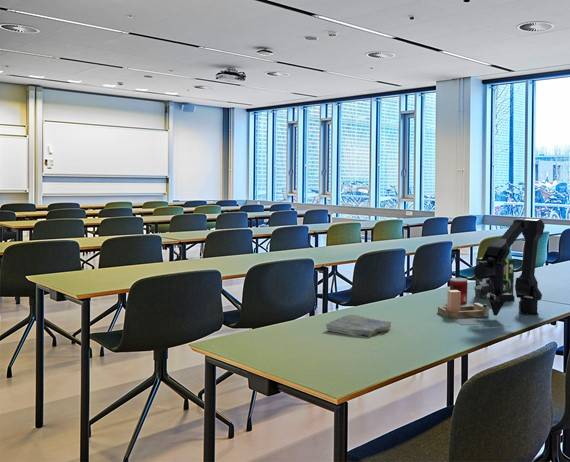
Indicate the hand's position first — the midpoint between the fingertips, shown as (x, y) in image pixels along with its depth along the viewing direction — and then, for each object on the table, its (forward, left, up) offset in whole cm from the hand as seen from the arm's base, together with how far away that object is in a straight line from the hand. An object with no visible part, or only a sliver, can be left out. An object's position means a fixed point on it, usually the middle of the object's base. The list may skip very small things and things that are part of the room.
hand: (495, 315), depth 240 cm
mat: (+11, +5, -2) cm, 13 cm away
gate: (+4, -9, -1) cm, 10 cm away
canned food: (+10, -33, -2) cm, 34 cm away
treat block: (+15, -5, -2) cm, 16 cm away
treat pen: (+13, -12, -2) cm, 18 cm away
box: (-9, -49, -2) cm, 50 cm away
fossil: (+54, +21, -3) cm, 58 cm away
